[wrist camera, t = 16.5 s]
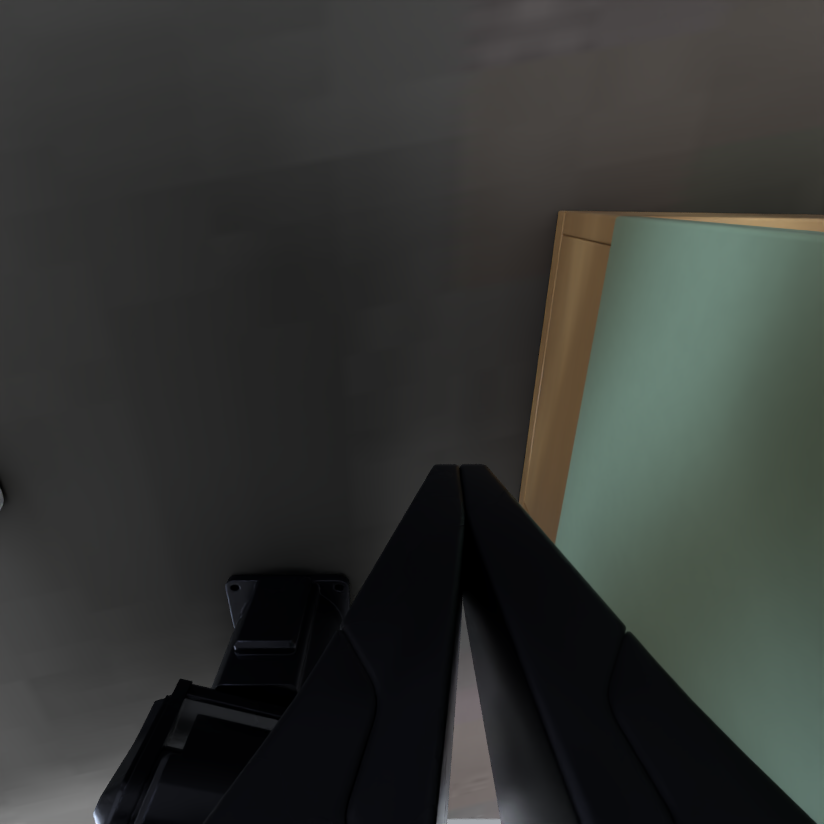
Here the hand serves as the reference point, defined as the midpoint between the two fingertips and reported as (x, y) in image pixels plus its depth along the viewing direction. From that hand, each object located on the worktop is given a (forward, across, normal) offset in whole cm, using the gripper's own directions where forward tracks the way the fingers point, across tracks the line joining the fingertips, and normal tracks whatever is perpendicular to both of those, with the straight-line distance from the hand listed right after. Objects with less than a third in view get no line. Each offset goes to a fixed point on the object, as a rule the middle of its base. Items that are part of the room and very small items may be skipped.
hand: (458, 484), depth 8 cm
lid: (-1, -5, +3) cm, 6 cm away
